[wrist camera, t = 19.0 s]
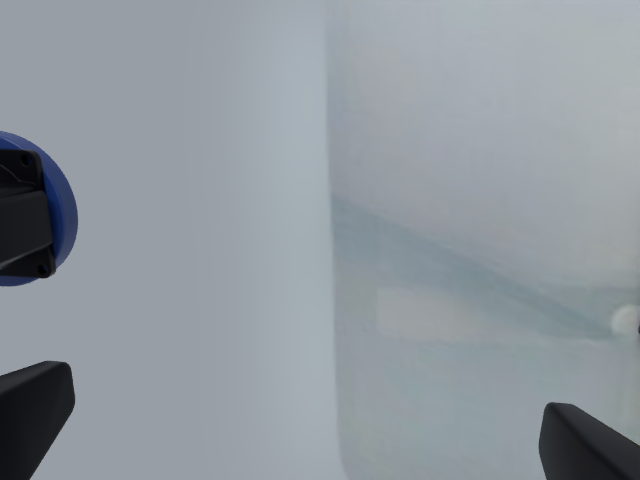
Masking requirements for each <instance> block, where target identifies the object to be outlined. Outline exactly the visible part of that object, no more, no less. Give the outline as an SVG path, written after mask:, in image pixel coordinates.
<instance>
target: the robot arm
mask: <svg viewBox="0 0 640 480" xmlns="http://www.w3.org/2000/svg"><path fill="white" fill-rule="evenodd" d="M27 156H28V157H29V158H30V160H31V164H29V163H28V161H27ZM43 265H44V266H45V267H46V269H47V271H45V270H44V269H43ZM55 272H56V262H55V254H54V247H53V238H52V231H51V224H50V216H49V209H48V202H47V196H46V190H45V183H44V176H43V168H42V161H41V158H40V155H39V154H38V153H37V152H36V151H34V150H31V149H1V148H0V276H11V277H28V278H48V277H50V276H52V275H53V274H55ZM74 405H75V394H74V387H73V379H72V372H71V368H70V366H69V364H67V363H66V362H58V361H44V362H41V363H38V364H35V365H32V366H29V367H26V368H23V369H20V370H17V371H14V372H11V373H8V374H5V375H2V376H0V480H30V478H31V477H32V475H33V473H34V472H35V470H36V469H37V467H38V466H39V464H40V463H41V461H42V459H43V458H44V456H45V455H46V453H47V451H48V450H49V448H50V447H51V445H52V443H53V442H54V440H55V439H56V437H57V435H58V434H59V432H60V430H61V429H62V427H63V426H64V424H65V422H66V421H67V419H68V418H69V416H70V415H71V413H72V411H73V408H74ZM539 454H540V458H541V462H542V465H543V469H544V472H545V476H546V479H547V480H640V446H639V445H637V444H636V443H634V442H633V441H631V440H629V439H628V438H626V437H625V436H623V435H621V434H620V433H618V432H617V431H615V430H613V429H612V428H610V427H608V426H607V425H605V424H604V423H602V422H600V421H599V420H597V419H596V418H594V417H592V416H591V415H589V414H588V413H586V412H584V411H583V410H581V409H580V408H578V407H576V406H575V405H572V404H566V403H554V402H551V403H548V404H547V405H546V407H545V410H544V415H543V421H542V426H541V432H540V438H539Z"/></svg>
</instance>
